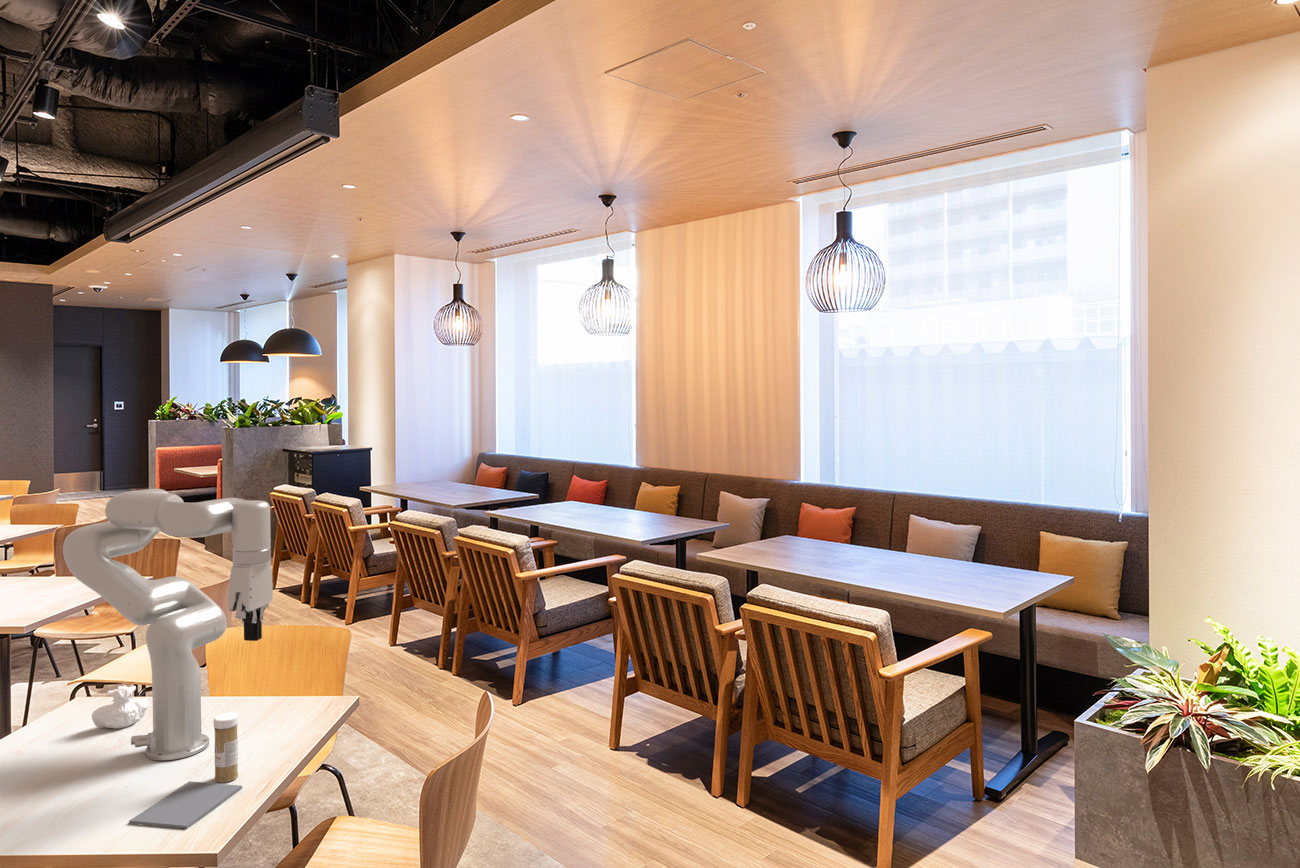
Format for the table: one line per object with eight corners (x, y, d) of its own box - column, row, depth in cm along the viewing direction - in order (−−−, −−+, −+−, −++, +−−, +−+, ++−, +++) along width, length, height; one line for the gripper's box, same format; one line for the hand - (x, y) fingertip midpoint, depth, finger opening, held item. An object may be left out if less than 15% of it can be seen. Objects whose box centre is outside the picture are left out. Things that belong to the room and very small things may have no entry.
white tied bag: (92, 741, 194) (96, 713, 189) (88, 715, 199) (92, 687, 193) (150, 728, 202) (155, 700, 197) (144, 703, 207) (150, 675, 201)
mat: (186, 829, 151) (186, 825, 151) (129, 823, 153) (129, 820, 153) (242, 788, 167) (242, 785, 167) (189, 784, 169) (189, 781, 169)
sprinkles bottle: (210, 779, 171) (209, 716, 170) (233, 771, 174) (232, 710, 174) (219, 785, 168) (218, 721, 167) (242, 778, 171) (241, 715, 171)
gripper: (255, 550, 186) (256, 629, 187) (214, 563, 171) (215, 649, 172) (286, 551, 185) (287, 630, 186) (248, 564, 170) (249, 650, 171)
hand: (252, 639), depth 179 cm, fingers closed
